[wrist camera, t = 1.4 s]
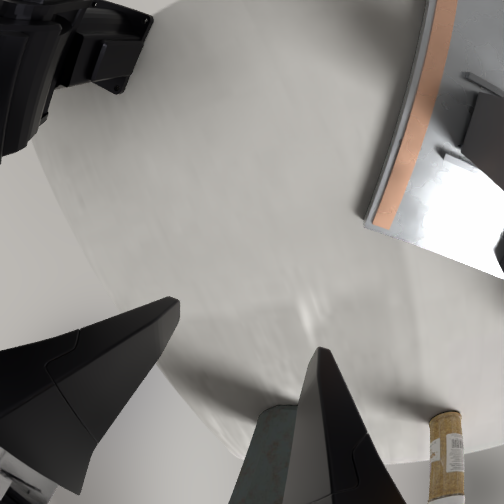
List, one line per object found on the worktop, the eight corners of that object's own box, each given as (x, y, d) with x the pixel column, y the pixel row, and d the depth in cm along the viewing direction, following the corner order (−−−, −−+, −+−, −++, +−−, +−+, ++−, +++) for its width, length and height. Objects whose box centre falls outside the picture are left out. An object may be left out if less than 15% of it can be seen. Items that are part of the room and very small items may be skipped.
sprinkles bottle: (423, 419, 31) (418, 517, 20) (454, 406, 28) (456, 508, 17) (437, 429, 31) (434, 520, 21) (466, 417, 29) (469, 511, 18)
